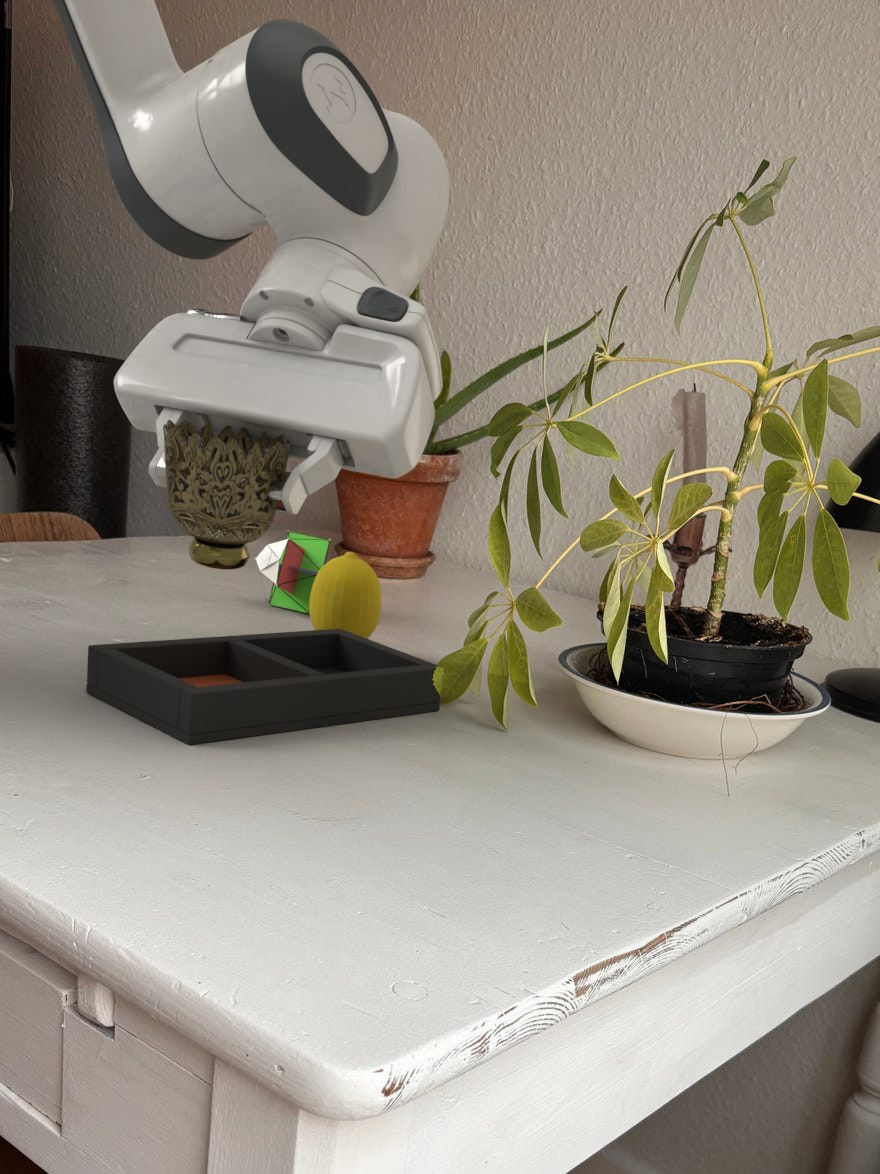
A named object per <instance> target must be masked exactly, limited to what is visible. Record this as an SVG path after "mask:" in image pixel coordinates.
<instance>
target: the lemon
mask: <svg viewBox="0 0 880 1174" xmlns="http://www.w3.org/2000/svg"><path fill="white" fill-rule="evenodd" d="M324 564H325V563H324ZM381 589H382V588H381V584H380V580H379V577H378V575H377V573H376V572H375V570H374V568H372V566H371V565H370V564H368V562H366V561H364V560H363V559H361V558H360V557H359V556H358V554H357V553H356V552H353V551H346V552H345V553H344V555H340V556H336V557H333V558H331V559H330V560H329V561H326V564H325V565H323V567H322V568H321V569H320V570H319V572H318V574H317V576H316V578H315V580H314V583H313V586H312V590H311V594H310V615H309V616H310V621H311V624H312V627H313V629H314V630H327V629H342V630H345V631H347V632H350V633H353V634H356V635H358V636H361V637H364V638H366V639H369V638H370V637H371V636H372V635H373V633H374V632H375V630H376V628H377V626H378V623H379V620H380V616H381V611H382V590H381Z"/></svg>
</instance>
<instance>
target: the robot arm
mask: <svg viewBox="0 0 880 1174" xmlns="http://www.w3.org/2000/svg"><path fill="white" fill-rule="evenodd" d="M52 1H53V4H54V6H55V9H56V11H57V14H58V16H59V19H60V21H61V24H62V28H63V29H64V32H65V35H66V37H67V40H68V42H69V45H70V47H71V50H72V52H73V55H74V57H75V60H76V62H77V65H78V68H79V70H80V72H81V75H82V78H83V80H84V83H85V85H86V88H87V91H88V94H89V96H90V99H91V102H92V104H93V107H94V112H95V114H96V117H97V121H98V125H99V129H100V133H101V139H102V144H103V147H104V152H105V158H106V162H107V165H108V170H109V174H110V177H111V181H112V184H113V186H114V188H115V191H116V195H117V197H118V198H119V200H120V202H121V204H122V206H123V208H124V209H125V211H126V213H127V214H128V216H129V217H130V219H132V221H133V222H134V223H135V224H136V225H137V227H138V228H139V229H140V230H141V231H142V232H143V233H144V234H145V235H146V236H147V237H148V238H149V239H151V240H152V241H153V242H155V244H157V245H159V246H160V247H162V248H163V249H165V250H166V251H168V252H170V253H172V254H174V255H176V256H179V257H182V258H185V259H190V260H195V261H197V260H199V261H200V260H208V259H212V258H216V257H217V256H219V255H221V254H223V253H224V252H226V251H227V250H229V249H231V248H232V247H234V246H235V245H237V244H239V243H240V242H242V241H243V240H245V239H247V238H248V237H249V236H251V235H252V234H253V233H254V232H256V231H258V230H260V229H263V228H265V227H267V226H270V228H271V229H272V231H274V233H275V236H276V246H275V249H274V251H273V252H272V254H271V256H270V257H269V259H268V260H267V263H266V264H265V265H264V267H263V269H262V270H261V272H260V274H259V276H258V278H257V279H256V281H255V283H254V284H253V286H252V288H251V289H250V291H249V293H248V294H247V296H246V297H245V300H244V301H243V303H242V304H241V307H240V312H239V314H238V313H231V312H215V311H210V310H208V309H205V308H202V307H201V308H200V307H192V308H188V309H187V311H186V312H181V313H180V312H179V313H174V314H170V315H168V316H166V317H164V318H163V319H162V320H161V321H159V322H158V323H157V324H156V325H155V326H154V327H153V328H152V329H150V330H149V332H148V333H147V334H146V335H145V337H143V339H141V341H139V343H138V345H136V347H135V348H134V349H133V351H131V353H130V354H129V356H127V358H126V360H124V362H123V363H122V364H121V366H120V368H119V369H118V371H117V372H116V373H115V375H114V377H113V389H114V392H115V396H116V398H117V400H118V403H119V405H120V406H121V408H122V410H123V412H124V413H125V416H126V417H127V419H128V421H129V422H130V424H131V426H133V428H135V429H137V430H140V431H144V432H149V433H155V434H156V440H157V441H156V442H157V450H156V453H155V454H154V456H153V458H152V459H151V461H150V462H149V465H148V474H149V476H150V478H151V480H152V481H153V483H154V486H157V487H161V488H166V489H167V484H166V468H165V448H164V431H163V426H164V424H167V421H168V420H171V421H172V422H173V423H174V425H175V427H176V425H177V424H178V423H179V422H181V421H182V420H184V419H185V420H187V421H189V422H190V423H191V424H192V425H193V426H194V427H195V429H196V430H197V431H198V432H202V431H201V430H202V428H203V426H204V425H206V424H211V425H212V431H213V436H214V438H217V436H218V434H219V433H220V432H221V431H222V430H223V429H224V428H225V427H226V426H228V425H229V426H231V428H232V430H233V431H234V432H235V433H236V434H238V433H239V431H240V429H242V428H245V429H246V430H247V431H248V433H249V435H250V438H252V440H253V446H254V444H255V443H256V441H257V439H258V437H260V436H261V434H262V433H263V432H264V431H265V432H266V435H267V438H268V442H270V441H271V440H272V439H273V438H276V436H279V435H283V436H284V442H285V441H286V440H289V443H290V450H289V456H288V460H289V459H290V460H295V461H299V462H301V463H299V464H298V465H297V466H296V467H294V468H293V469H292V470H291V471H290V472H289V471H285V472H284V471H280V473H279V475H278V476H277V478H276V479H275V480H274V483H272V484H271V486H270V487H269V488H268V491H267V497H268V499H269V501H270V502H271V503H272V505H271V506H272V509H274V510H277V511H276V512H283V513H285V514H286V513H287V514H290V515H291V514H292V515H298V514H299V512H300V510H301V508H302V506H303V505H304V503H305V501H306V499H307V497H308V496H311V495H313V494H314V493H316V492H317V491H318V490H320V489H322V488H323V487H325V486H327V485H328V484H329V483H331V482H333V481H334V480H336V479H337V478H338V475H339V473H340V471H341V470H346V471H351V472H357V473H363V474H367V475H372V476H376V477H382V478H387V479H393V480H395V479H398V478H402V477H403V476H404V475H406V474H408V473H410V472H411V471H413V470H414V469H415V468H416V466H418V464H419V462H420V459H421V457H422V455H423V454H424V453H423V452H424V451H425V448H426V446H427V444H428V441H429V438H430V435H431V432H432V429H433V425H434V422H435V418H436V410H435V405H434V402H435V401H436V400H437V399H438V397H439V396H440V394H441V392H442V391H443V387H444V385H443V384H444V383H443V371H442V365H441V358H440V353H439V349H438V343H437V340H436V337H435V333H434V329H433V326H432V323H431V321H430V317H429V315H428V312H427V309H426V307H425V306H424V305H422V304H421V303H420V302H418V301H416V300H414V299H412V298H410V296H411V295H412V294H413V293H414V291H415V290H416V288H417V286H419V285H418V284H419V283H420V281H421V279H422V277H423V275H424V274H425V271H426V269H427V267H428V265H429V263H430V261H431V259H432V256H433V254H434V253H435V250H436V248H437V245H438V243H439V241H440V239H441V236H442V235H441V234H442V232H443V230H444V225H445V223H446V219H447V214H448V208H449V202H450V174H449V170H448V165H447V162H446V158H445V156H444V154H443V152H442V151H441V149H440V147H439V145H438V143H437V142H436V141H435V139H434V138H433V136H432V135H431V134H430V133H429V132H428V131H427V129H425V128H424V127H423V126H422V125H421V124H420V123H418V122H417V121H416V120H415V119H412V118H411V117H409V116H407V115H405V114H402V113H400V112H395V111H393V110H389V109H387V108H384V107H382V106H381V104H380V102H379V100H378V98H377V97H376V94H375V93H374V91H373V90H372V88H371V86H370V84H368V81H366V79H365V78H364V77H363V75H362V74H361V72H360V71H359V70H358V68H357V67H356V65H355V64H354V63H353V62H352V61H351V60H350V59H349V57H348V56H347V55H346V54H345V53H344V52H343V50H342V49H340V48H339V46H338V45H337V44H335V43H334V42H333V41H332V40H331V39H329V37H327V36H326V35H325V34H323V33H322V32H320V31H319V30H317V29H315V28H313V27H312V26H309V25H307V24H305V23H302V22H300V21H297V20H294V19H290V18H276V19H271V20H269V21H267V22H265V23H264V24H261V26H259V27H257V28H255V29H254V30H252V31H250V32H248V33H247V34H244V35H243V36H241V37H239V38H238V39H236V40H234V41H233V42H231V43H229V44H227V45H225V46H224V47H222V48H221V49H219V50H218V51H217V52H215V53H213V54H212V55H211V56H212V57H209V58H207V59H206V60H204V61H203V62H201V63H199V64H197V65H196V66H194V67H192V68H191V69H189V70H187V71H186V72H184V71H183V70H182V69H181V67H180V65H179V64H178V62H177V60H176V57H175V55H174V52H173V49H172V46H171V44H170V41H169V38H168V35H167V33H166V30H165V27H164V24H163V21H162V18H161V15H160V12H159V10H158V7H157V4H156V2H155V0H52ZM165 431H166V429H165ZM166 434H167V433H166ZM199 434H201V433H199ZM236 434H235V436H236Z"/></svg>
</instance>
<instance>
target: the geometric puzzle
mask: <svg viewBox="0 0 880 1174" xmlns="http://www.w3.org/2000/svg"><path fill="white" fill-rule="evenodd" d="M285 535H286V537H285V539H282V540H280V538H279V539H277V540H276V541H275V542H270V543H267V544H266V545H265V546H264V547H263V549H261V551H260V552H259V553H258V555H257V556H256V557H254V560H255V562H256V565H257V569H258V571H259V574H262V575H263V576H264V577H265V578H267V579H268V580H269V581H271V582H272V585H271V591H270V594H269V595H270V596H269V600H268V599H266V600H267V606H274V607H278V608H282V609H285V610H286V609H287V610H291V611H295V612H299V613H304V614H308V615H309V616H310V594H311V590H312V586H313V583H314V580H315V578H316V576H317V574H318V572H319V570H320V569H321V568H322V567H323V566H324V565H325V564H326V563H327V558H328V553H329V548H330V547H331V548H333V547H332V545H330V544H331V541H332V540H331V538H329V539H328V538H322V537H318V536H312V535H309V534H308V535H307V534H304V533H299V532H293V531H290V530H287V532H286V533H284V535H282V537H284V536H285ZM331 550H332V552H334V551H333V549H331ZM332 554H333V556H335V554H334V553H332ZM260 579H261V581H263V579H262V578H260ZM262 587H263V588H265V587H264V585H262ZM264 593H265V595H267V593H266V592H264Z"/></svg>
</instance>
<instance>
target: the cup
mask: <svg viewBox="0 0 880 1174" xmlns="http://www.w3.org/2000/svg"><path fill="white" fill-rule="evenodd" d="M165 429H166V431H165ZM163 431H164V448H165V468H166V484H167V488H166V493H167V500H168V505H169V509H170V512H171V515H172V518H173V520H174V522H175V523H176V524H177V525H178V527H179V528H180V529H181V530H182V531H183V532H184V533H186V534H188V535H189V536H190V537H192V539H190V542H189V544H188V546H187V551H188V554H189V557H190V559H191V561H193V562H194V563H195V564H196V565H199V566H202V567H205V568H209V569H216V570H224V571H225V570H226V571H228V570H230V571H231V570H232V571H234V570H238V569H242V568H244V567H245V566H246V565H247V563H248V561H249V559H250V557H251V554H250V550H249V546H248V544H250V543H252V542H255V541H257V540H259V539H261V538H262V537H263V536H264V535H265V534H266V533H267V532H268V530H269V529H270V528H271V526H272V524H273V522H274V520H275V517H276V514H277V512H278V511H277V510H274V509H272V506H271V505H272V503H271V502H270V501H269V499H268V497H267V491H268V488H269V487H270V486H271V484H272V483H274V480H275V479H276V478H277V476H278V475H279V473H280V471H284V472H287V466H288V462H289V461H288V460H289V458H288V456H289V450H290V443H289V440H286V441H285V442H284V436H283V435H279V436H276V438H273V439H272V440H271V441H270V442H268V438H267V435H266V432H265V431H264V432H263V433H262V434H261V436H260V437H258V439H257V441H256V443H255V444H254V446H253V440H252V438H250V435H249V433H248V431H247V430H246V429H245V428H242V429H240V431H239V433H238V434H236V433H235V432H234V431H233V430H232V428H231V426H229V425H228V426H226V427H225V428H224V429H223V430H222V431H221V432H220V433H219V434H218V436H217V438H214V436H213V431H212V425H211V424H206V425H204V426H203V428H202V430H201V431H202V432H198V431H197V430H196V429H195V427H194V426H193V425H192V424H191V423H190V422H189V421H187V420H185V419H184V420H182V421H181V422H179V423H178V424H177V425H176V427H175V425H174V423H173V422H172V421H171V420H168V421H167V424H164V426H163ZM166 433H167V434H166ZM199 433H201V434H199ZM235 434H236V436H235Z"/></svg>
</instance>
